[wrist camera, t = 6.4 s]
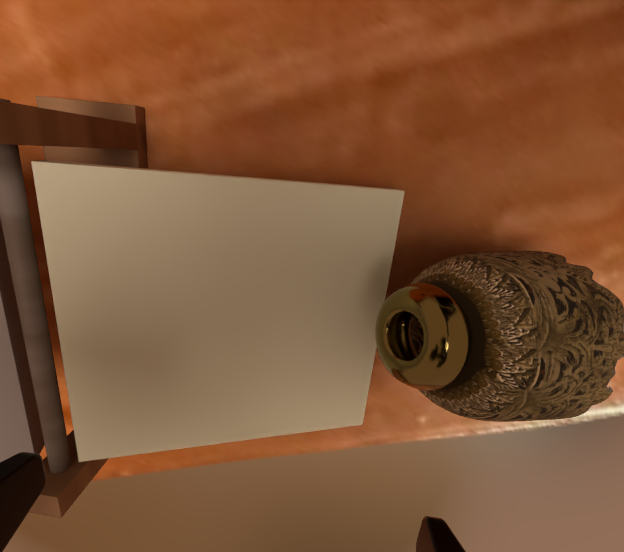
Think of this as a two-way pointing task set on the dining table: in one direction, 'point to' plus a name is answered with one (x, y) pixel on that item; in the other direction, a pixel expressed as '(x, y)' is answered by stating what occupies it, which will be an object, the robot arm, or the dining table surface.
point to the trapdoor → (200, 307)
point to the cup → (504, 336)
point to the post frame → (23, 261)
